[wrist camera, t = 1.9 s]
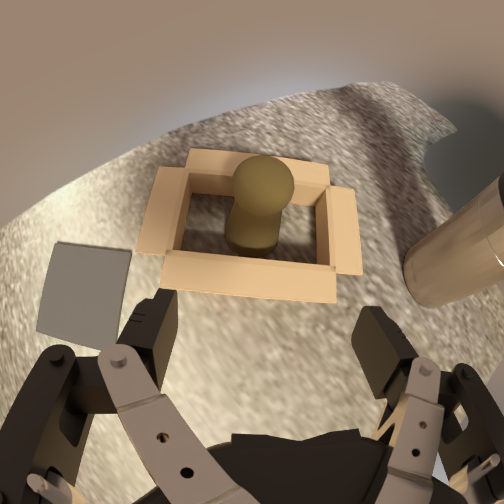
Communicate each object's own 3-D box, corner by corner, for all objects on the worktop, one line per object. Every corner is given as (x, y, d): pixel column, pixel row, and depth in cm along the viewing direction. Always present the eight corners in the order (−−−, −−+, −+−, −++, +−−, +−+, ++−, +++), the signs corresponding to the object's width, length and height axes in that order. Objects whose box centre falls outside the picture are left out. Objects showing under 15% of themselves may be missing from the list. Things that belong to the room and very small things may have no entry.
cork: (227, 261, 29) (231, 208, 19) (221, 211, 32) (223, 145, 21) (282, 255, 30) (312, 202, 20) (273, 207, 32) (294, 143, 22)
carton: (339, 187, 35) (350, 169, 31) (347, 311, 29) (364, 303, 25) (169, 167, 33) (165, 147, 29) (140, 292, 27) (128, 282, 23)
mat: (131, 254, 28) (130, 252, 28) (115, 353, 24) (113, 353, 24) (56, 244, 28) (54, 243, 27) (38, 331, 24) (35, 331, 23)
